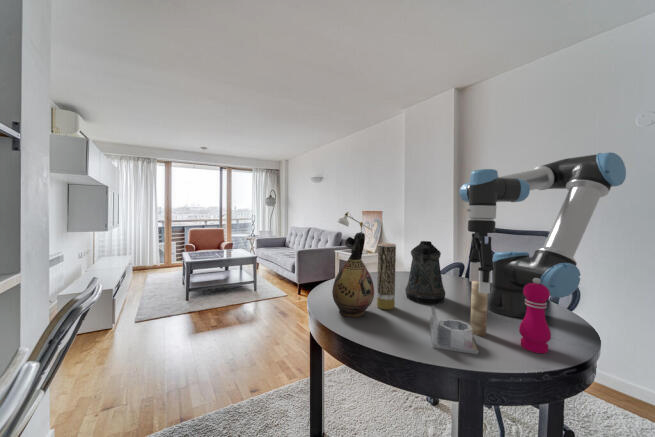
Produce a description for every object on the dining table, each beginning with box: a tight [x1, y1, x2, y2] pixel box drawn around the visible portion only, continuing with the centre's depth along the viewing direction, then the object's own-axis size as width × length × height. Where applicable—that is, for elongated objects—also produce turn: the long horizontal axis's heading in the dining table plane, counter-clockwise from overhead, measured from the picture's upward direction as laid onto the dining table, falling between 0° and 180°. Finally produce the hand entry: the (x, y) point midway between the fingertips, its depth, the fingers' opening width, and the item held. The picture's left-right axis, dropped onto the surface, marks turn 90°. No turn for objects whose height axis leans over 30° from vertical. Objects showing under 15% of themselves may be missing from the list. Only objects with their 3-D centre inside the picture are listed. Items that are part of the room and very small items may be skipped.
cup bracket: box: [429, 305, 480, 355], centre depth 83 cm, size 12×12×8 cm
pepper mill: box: [518, 278, 552, 354], centre depth 79 cm, size 7×7×20 cm
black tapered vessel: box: [404, 240, 446, 305], centre depth 121 cm, size 16×19×25 cm
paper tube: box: [376, 242, 397, 311], centre depth 110 cm, size 7×7×25 cm
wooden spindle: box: [469, 281, 489, 337], centre depth 89 cm, size 4×4×16 cm
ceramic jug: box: [331, 231, 375, 318], centre depth 105 cm, size 17×15×30 cm
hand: (478, 287), depth 88 cm, fingers open, 13 cm apart
